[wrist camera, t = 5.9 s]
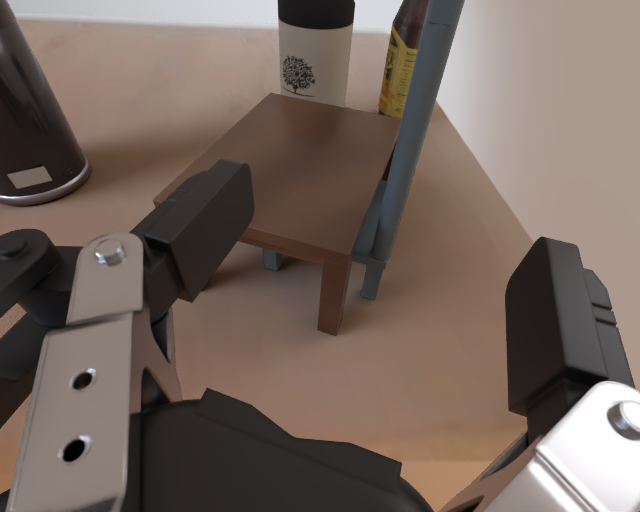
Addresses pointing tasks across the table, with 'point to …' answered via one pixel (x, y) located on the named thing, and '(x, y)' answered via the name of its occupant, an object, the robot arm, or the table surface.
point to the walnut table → (308, 183)
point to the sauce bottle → (401, 57)
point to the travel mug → (315, 49)
